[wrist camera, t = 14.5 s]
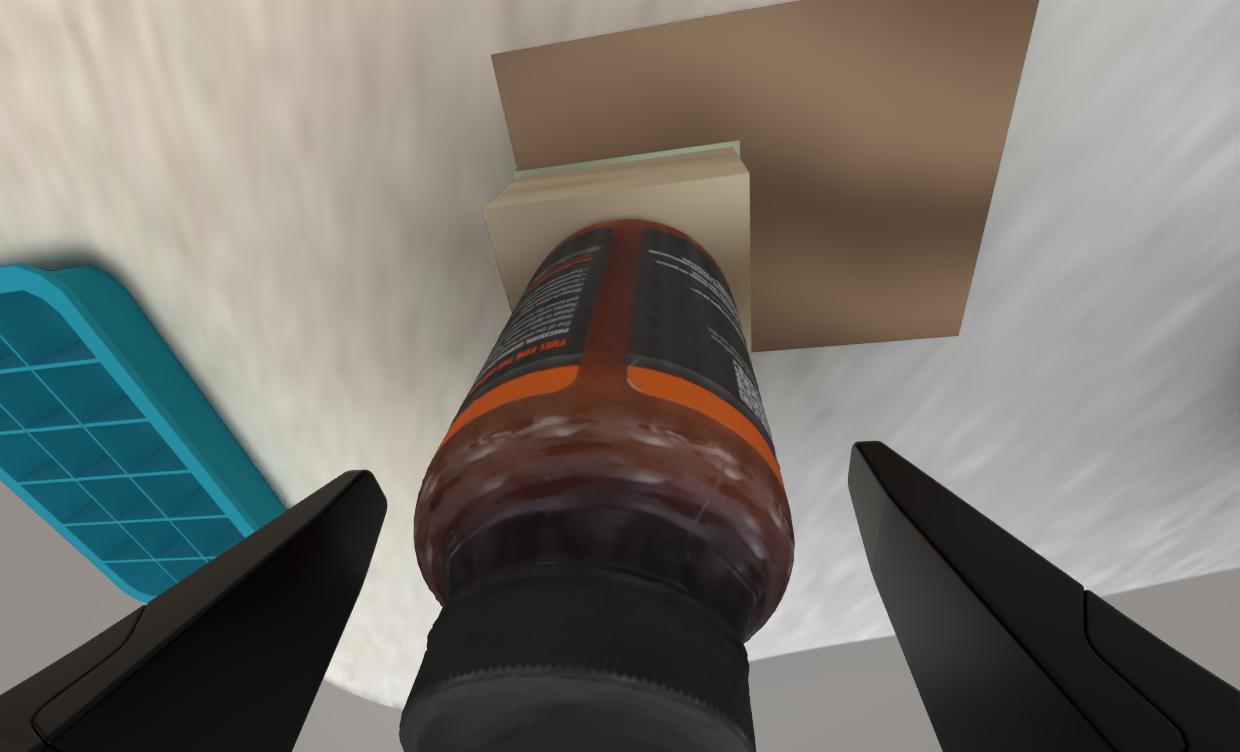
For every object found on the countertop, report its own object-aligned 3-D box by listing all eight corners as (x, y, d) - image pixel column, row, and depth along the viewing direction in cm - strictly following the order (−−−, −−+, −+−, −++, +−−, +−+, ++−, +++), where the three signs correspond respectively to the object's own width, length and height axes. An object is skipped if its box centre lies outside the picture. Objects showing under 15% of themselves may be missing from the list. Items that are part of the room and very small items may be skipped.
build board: (948, 325, 19) (958, 335, 19) (563, 357, 22) (559, 367, 21) (1030, -39, 14) (1050, -44, 13) (492, 55, 16) (484, 56, 15)
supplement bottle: (504, 350, 16) (265, 791, 7) (577, 170, 13) (324, 515, 3) (671, 423, 17) (675, 894, 8) (776, 273, 14) (1006, 756, 4)
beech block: (737, 341, 20) (752, 401, 16) (562, 356, 21) (541, 416, 17) (732, 146, 16) (749, 172, 13) (518, 176, 17) (481, 209, 14)
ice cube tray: (115, 235, 21) (38, 261, 18) (339, 556, 31) (310, 601, 29) (-103, 270, 22) (-200, 299, 20) (178, 563, 33) (138, 605, 31)
